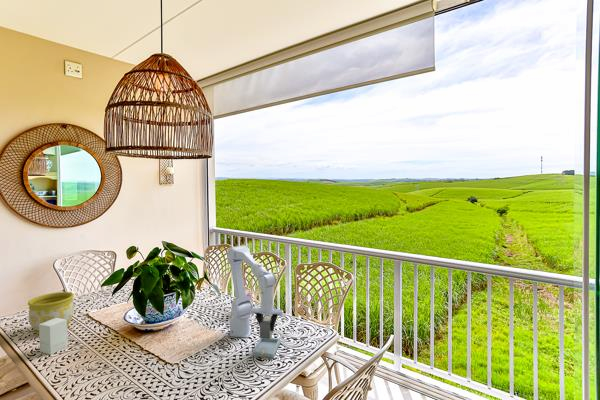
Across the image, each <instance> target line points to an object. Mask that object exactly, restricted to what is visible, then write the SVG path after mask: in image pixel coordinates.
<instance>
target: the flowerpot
mask: <svg viewBox="0 0 600 400" xmlns="http://www.w3.org/2000/svg"><path fill="white" fill-rule="evenodd" d="M74 295H75V294H74V293H73V292H72V291H71V292H70V291H57V292H51V293H45V294H42V295H38V296H35V297H33V298H31V299H30V300H28V302H27V305H28V306H29V307H28V309H29V310H28V311H29V312H28V323H29V325H30V326H31V328H32V329H34V330H33V332H34V333H35V334H36V335H39V324H41V323H44V322H47V321H49V320H52V319H54V318H60V319H65V320H67V327H68V326H69V325H70V324H71V322H70V321H71V319H72V318H73V315H74V312H75V306H74V305H75V304H74Z"/></svg>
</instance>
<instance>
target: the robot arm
mask: <svg viewBox="0 0 600 400" xmlns="http://www.w3.org/2000/svg"><path fill="white" fill-rule="evenodd" d="M226 256H227V257H226V258H227V263H228V265H230V271H231V278H232V282H233V283H232V285H233V289H234V295H235V298H233V300H232V301H231V302H230V304H231V311H230V312H231V317H230V319H229V320H230V321H229V335H228V336H229V337H237V338H248V337H249V336H250V335H251V333H252V331H253V328H251V326H250V325H251V322H250V321H251V320H250V317H251V316H252V315H254V314H255V319H256V321H257V323H258V326H259V327H260V322H261V320H262V318H263V317H264V315H272V316H271V331H273V330H274V331H275V324H276V321H277V319H278V316H280V317H283V316H284V309H283V310H282V309H279V308H278V309H277V308H274V301H275V300H274V299H275V298H274V295H275V294H274V291H275V290H274V287H275V285H276V284H277V277H276V275H275V274H274V272H270V271H268V270H267V269H266V268H265V267H264V266H263V264H262V263H260V262H257V260H255V258H254V257H253V256H252V254H251V249H250V248H249V247H248V245H246V244H244V245H238V246H229V248H228V249H227V252H226ZM243 262H245V263H246V264H247V266H249V267H250V268H251V269H250V272H251V274H252V275H253V276H254V277H255V278H256V280H257V284H258V287H259V291H260V307H254V304H253V302H252V297H251V298H249V297H248V296H246V293H245V290H246V288H245V281H244V276H243V270H242V264H243ZM241 302H243V303H241ZM239 303H240V304H239ZM274 331H273V332H274Z"/></svg>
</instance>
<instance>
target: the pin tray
mask: <svg viewBox="0 0 600 400" xmlns="http://www.w3.org/2000/svg"><path fill="white" fill-rule="evenodd" d="M280 344H281V338H278V337H276V338H275V337H273V334H272V335H271V337H270V339H266V338H260V337H259V339H258V340H257V343H256V345H255V346H254V348H253V350H252V351H251V357H254V358H255V357H256V358H261V359H262V360H263V359H264V358H265V359H275V356H276V354H277V351H278V348H279V347H280ZM261 359H260V360H261Z"/></svg>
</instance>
